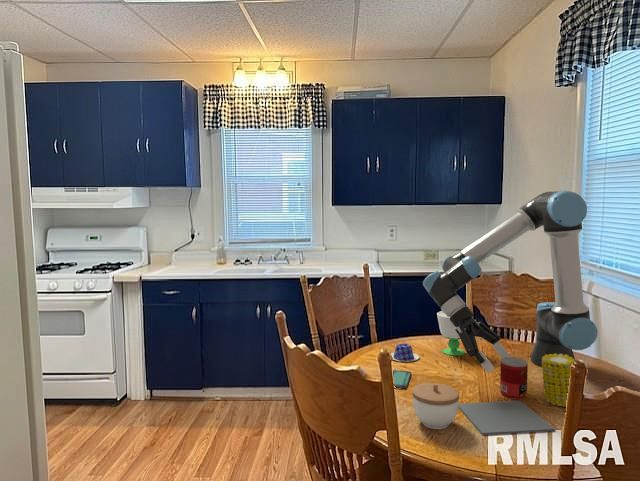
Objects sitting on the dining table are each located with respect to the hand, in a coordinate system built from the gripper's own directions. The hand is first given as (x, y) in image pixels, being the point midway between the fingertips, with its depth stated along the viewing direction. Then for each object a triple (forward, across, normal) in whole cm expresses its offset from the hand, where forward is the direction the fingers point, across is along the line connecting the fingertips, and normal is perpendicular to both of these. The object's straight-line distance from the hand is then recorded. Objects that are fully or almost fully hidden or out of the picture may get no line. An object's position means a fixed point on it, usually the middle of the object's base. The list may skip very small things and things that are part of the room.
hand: (500, 365), depth 150 cm
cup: (-15, -27, -28) cm, 42 cm away
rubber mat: (+12, +17, -1) cm, 21 cm away
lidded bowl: (+3, +33, -10) cm, 35 cm away
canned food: (+9, -1, -4) cm, 10 cm away
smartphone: (-14, +13, -28) cm, 34 cm away
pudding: (-23, -8, -36) cm, 44 cm away
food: (+18, -4, +5) cm, 19 cm away
